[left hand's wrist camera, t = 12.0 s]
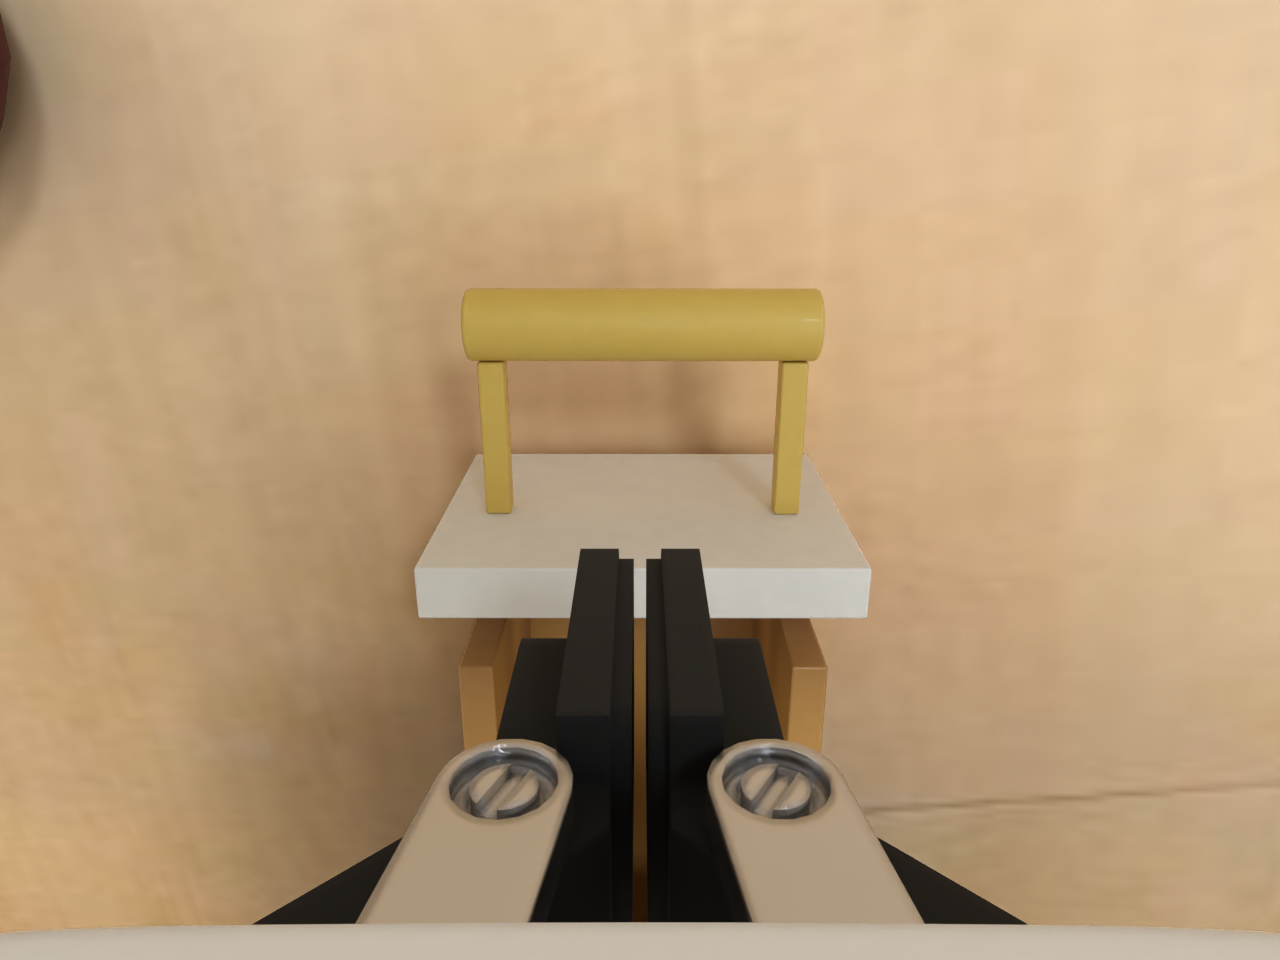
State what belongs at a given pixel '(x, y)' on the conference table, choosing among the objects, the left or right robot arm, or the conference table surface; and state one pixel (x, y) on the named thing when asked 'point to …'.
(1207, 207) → the conference table surface
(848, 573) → the drawer
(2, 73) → the dark maroon ball
